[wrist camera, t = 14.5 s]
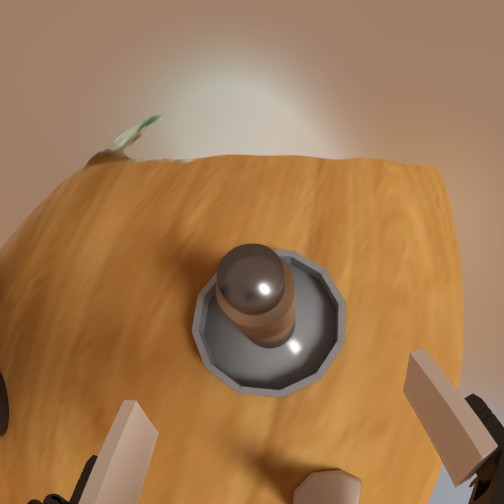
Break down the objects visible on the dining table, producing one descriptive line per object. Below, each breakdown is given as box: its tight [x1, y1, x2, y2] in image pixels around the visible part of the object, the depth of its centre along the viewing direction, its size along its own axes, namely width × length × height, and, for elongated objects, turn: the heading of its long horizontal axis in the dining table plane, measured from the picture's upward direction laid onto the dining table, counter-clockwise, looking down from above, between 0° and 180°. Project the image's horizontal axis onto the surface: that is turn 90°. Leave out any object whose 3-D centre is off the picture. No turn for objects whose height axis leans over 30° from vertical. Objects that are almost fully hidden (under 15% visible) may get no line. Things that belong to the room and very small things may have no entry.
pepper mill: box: [216, 244, 295, 349], centre depth 22 cm, size 5×5×13 cm
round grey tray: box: [192, 250, 345, 397], centre depth 27 cm, size 15×15×2 cm
